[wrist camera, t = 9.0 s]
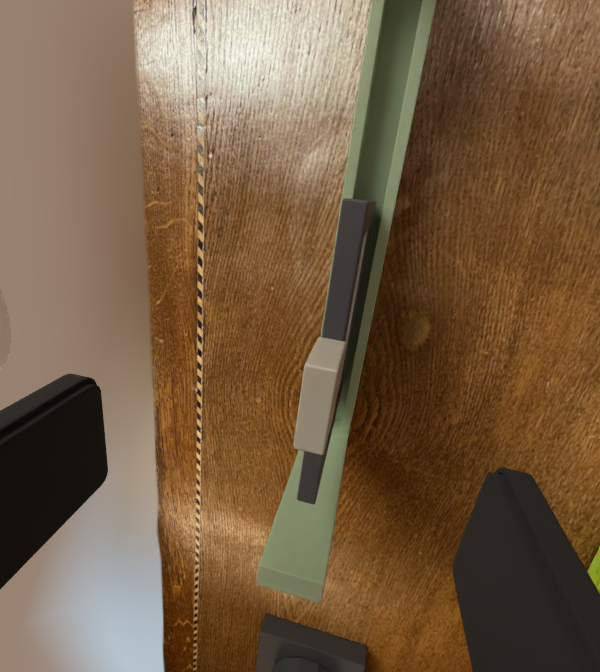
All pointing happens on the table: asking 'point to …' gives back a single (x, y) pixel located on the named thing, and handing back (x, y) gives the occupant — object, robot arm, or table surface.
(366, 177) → the window frame
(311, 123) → the table surface
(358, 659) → the dark grey mounting base
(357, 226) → the window pane
